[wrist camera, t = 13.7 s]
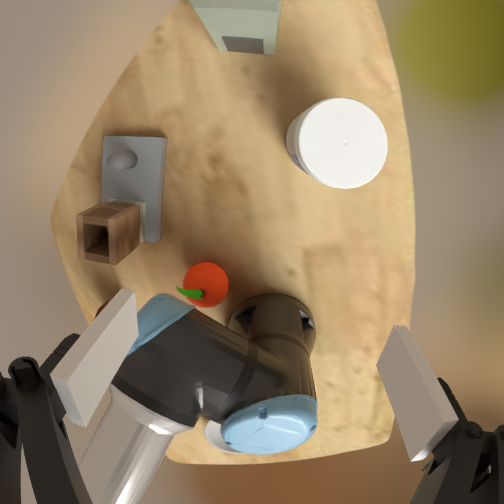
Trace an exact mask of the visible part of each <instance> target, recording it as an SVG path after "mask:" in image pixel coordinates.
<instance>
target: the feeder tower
mask: <svg viewBox="0 0 504 504" xmlns="http://www.w3.org/2000/svg"><path fill="white" fill-rule="evenodd" d="M188 1H189V2H190V4H191V5H192V7H193V8H194V10H195V12H196V13H197V15H198V16H199V18H200V20H201V21H202V23H203V24H204V26H205V28H206V29H207V31H208V33H209V34H210V36H211V38H212V39H213V41H214V43H215V44H216V46H217V48H218V50H219V51H233V52H246V53H256V54H265V55H273V56H275V49H276V42H277V35H278V28H279V21H280V14H281V5H282V0H188Z"/></svg>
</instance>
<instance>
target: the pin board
mask: <svg viewBox="0 0 504 504" xmlns="http://www.w3.org/2000/svg"><path fill="white" fill-rule="evenodd" d="M166 145H167V138H165V137H141V136H104V138H103V153H102V173H101V203H103V202H105V201H107V200H109V199H121V200H131V201H140V202H146V211H145V240H144V241H145V242H151V243H157V242H158V241H159V240H160V239H161V215H162V196H163V181H164V167H165V156H166ZM105 227H106V230H107V232H108V226H105Z"/></svg>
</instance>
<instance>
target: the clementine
mask: <svg viewBox="0 0 504 504" xmlns="http://www.w3.org/2000/svg"><path fill="white" fill-rule="evenodd" d="M228 287H229V283H228V278H227V275H226V273H225V272H224V271H223V269H222V268H220V267H219V266H218V265H216V264H214V263H210V262H201V263H198V264H195V265H194V266H192V267H191V268H190V269H189V270H188V271H187V273H186V275H185V277H184V281H183V288H184V289H180V288H178V287H177V286H176V288H177V290H178V291H179V292H180V293H181V294H183V295H185V296H187V298H188V299H189V300H190V302H192V303H193V304H195V305H197V306H199V307H204V308H208V307H213V306H215V305H217V304H219V303H221V301H222V300H223V299H224V298H225V296H226V294H227V292H228Z"/></svg>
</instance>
